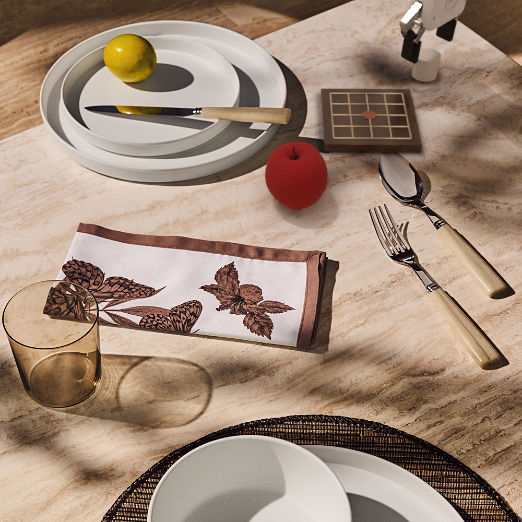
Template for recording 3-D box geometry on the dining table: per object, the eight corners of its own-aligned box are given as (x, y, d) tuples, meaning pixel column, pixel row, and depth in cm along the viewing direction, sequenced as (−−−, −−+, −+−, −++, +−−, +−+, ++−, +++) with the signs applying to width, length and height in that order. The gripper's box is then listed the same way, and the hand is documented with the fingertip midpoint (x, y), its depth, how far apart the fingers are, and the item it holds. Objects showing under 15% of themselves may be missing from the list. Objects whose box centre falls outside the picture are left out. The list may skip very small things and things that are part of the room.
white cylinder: (434, 68, 121) (438, 47, 118) (438, 82, 119) (442, 61, 116) (409, 67, 122) (413, 47, 119) (413, 81, 119) (416, 61, 116)
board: (408, 96, 116) (410, 88, 115) (420, 152, 106) (422, 144, 105) (320, 95, 116) (320, 87, 115) (323, 152, 106) (324, 143, 105)
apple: (337, 210, 97) (342, 155, 90) (278, 226, 95) (279, 172, 88) (311, 171, 103) (315, 116, 96) (255, 185, 101) (254, 131, 94)
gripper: (433, -24, 98) (412, 78, 111) (500, -61, 106) (474, 38, 119) (392, -42, 102) (377, 59, 114) (460, -76, 109) (439, 22, 122)
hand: (426, 49), depth 117 cm, fingers open, 9 cm apart
